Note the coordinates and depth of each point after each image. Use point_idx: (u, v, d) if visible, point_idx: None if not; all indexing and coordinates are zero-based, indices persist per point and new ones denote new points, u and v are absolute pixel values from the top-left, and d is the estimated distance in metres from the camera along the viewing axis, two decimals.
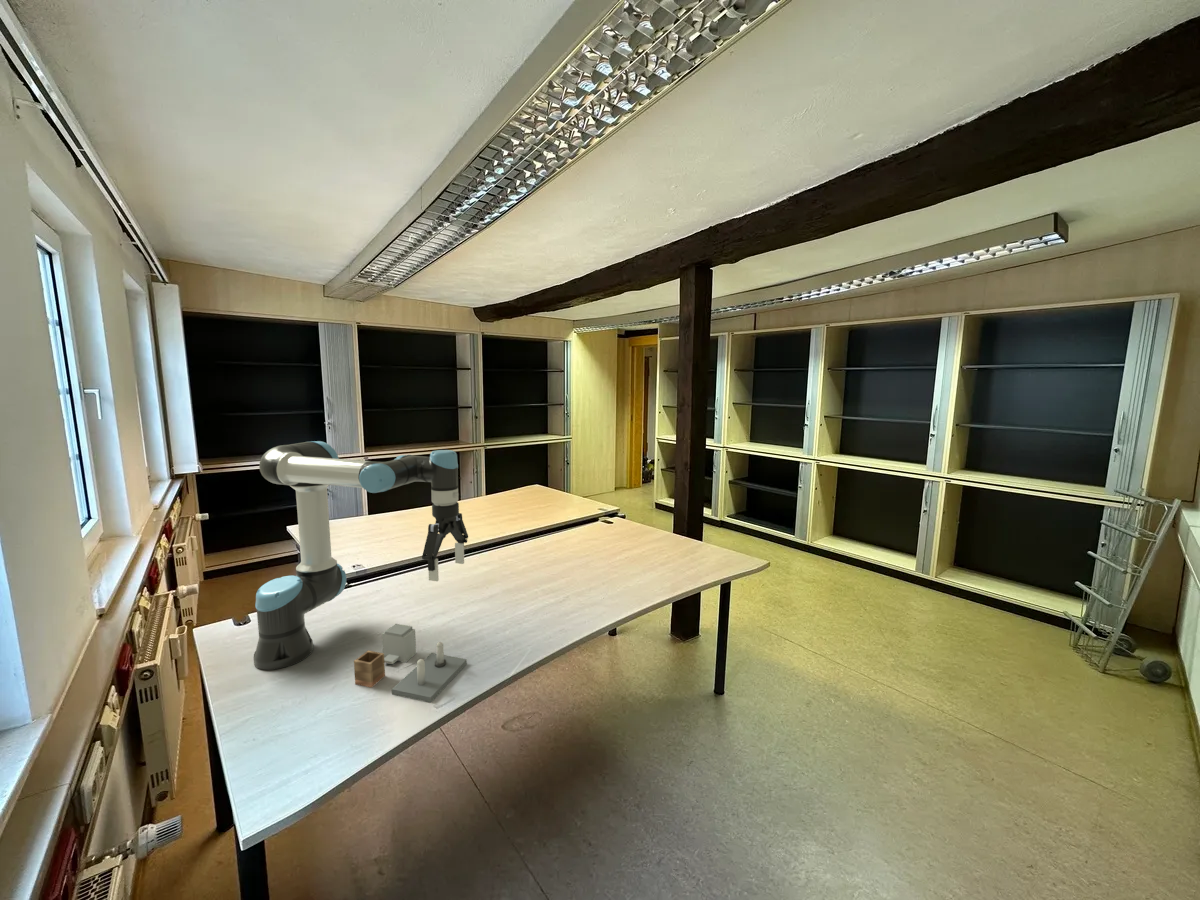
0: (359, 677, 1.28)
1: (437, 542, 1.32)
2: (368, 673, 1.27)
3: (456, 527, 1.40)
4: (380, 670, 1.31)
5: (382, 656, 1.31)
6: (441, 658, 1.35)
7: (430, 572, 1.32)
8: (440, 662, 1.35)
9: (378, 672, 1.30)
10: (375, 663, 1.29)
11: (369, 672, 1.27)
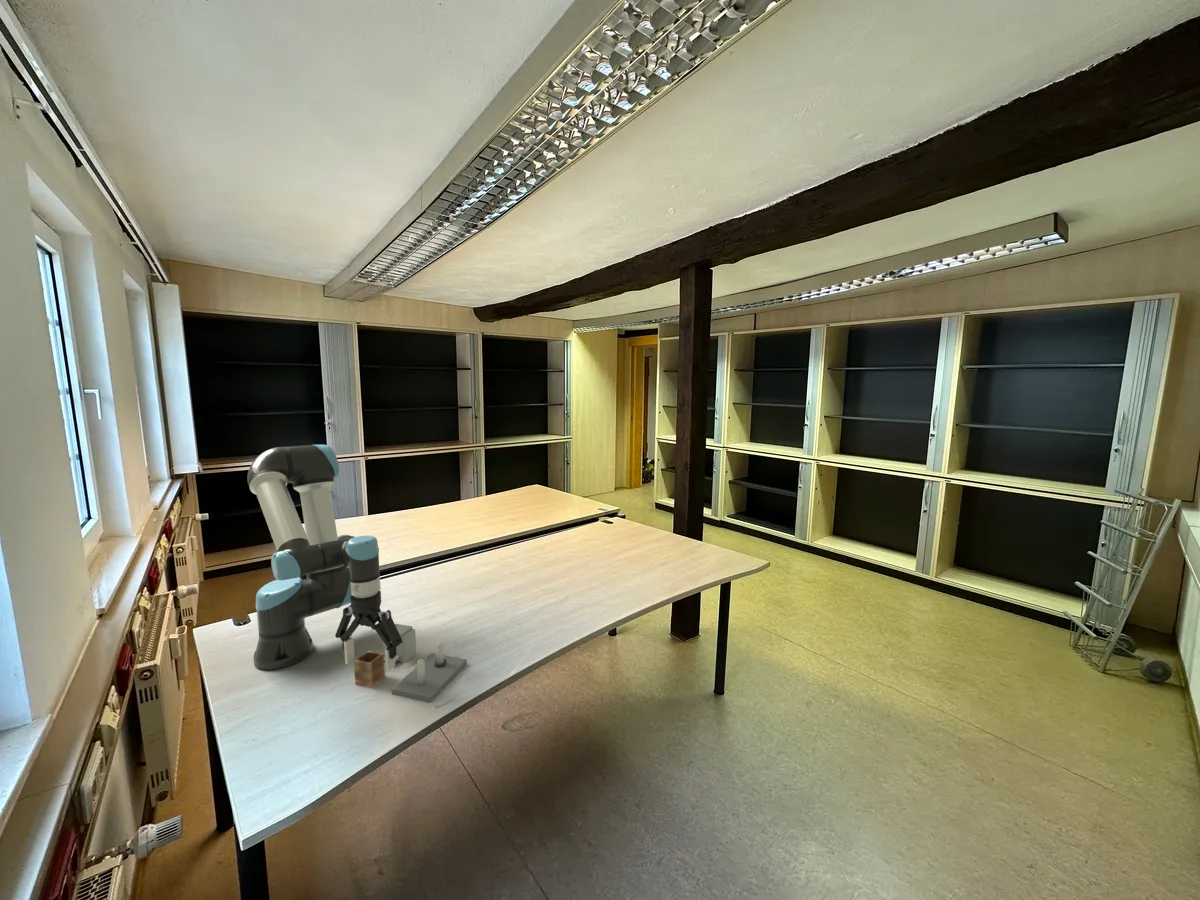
0: (359, 677, 1.28)
1: None
2: (368, 673, 1.27)
3: (371, 625, 1.26)
4: (380, 670, 1.31)
5: (382, 656, 1.31)
6: (441, 658, 1.35)
7: None
8: (440, 662, 1.35)
9: (378, 672, 1.30)
10: (375, 663, 1.29)
11: (369, 672, 1.27)
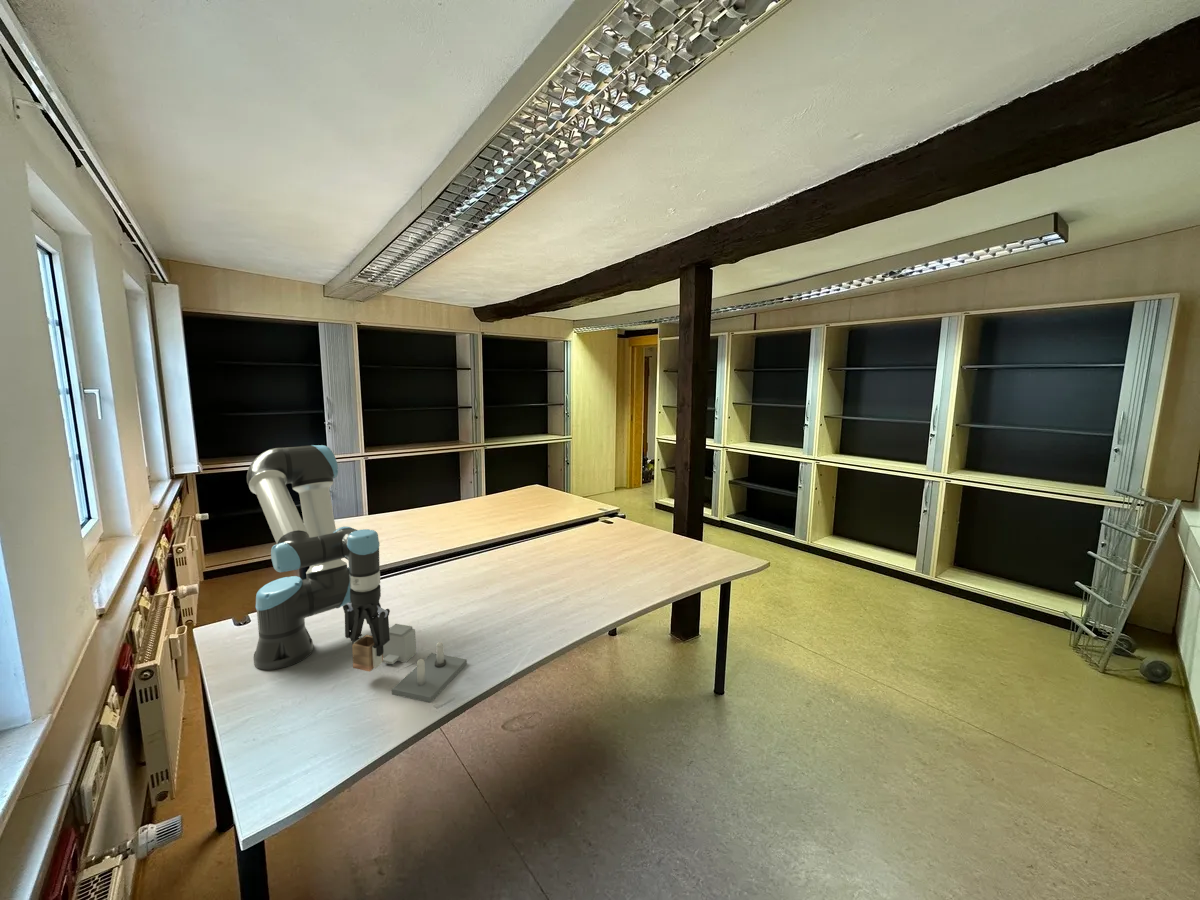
0: (357, 661, 1.28)
1: None
2: (366, 657, 1.27)
3: (367, 619, 1.26)
4: None
5: None
6: (441, 658, 1.35)
7: None
8: (440, 662, 1.35)
9: None
10: None
11: (367, 656, 1.27)
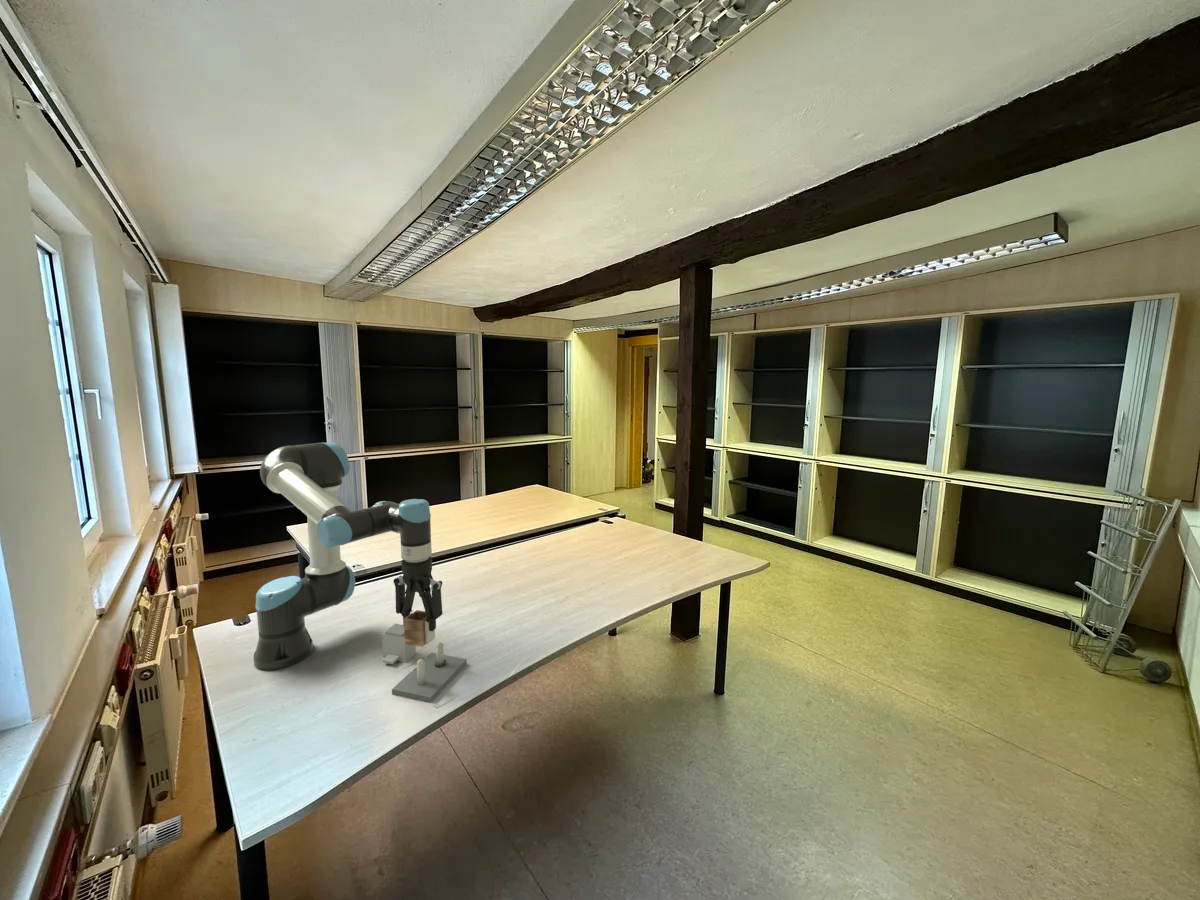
0: (409, 636, 1.23)
1: None
2: (419, 632, 1.22)
3: (420, 592, 1.22)
4: None
5: None
6: (441, 658, 1.35)
7: None
8: (440, 662, 1.35)
9: None
10: None
11: (420, 630, 1.22)
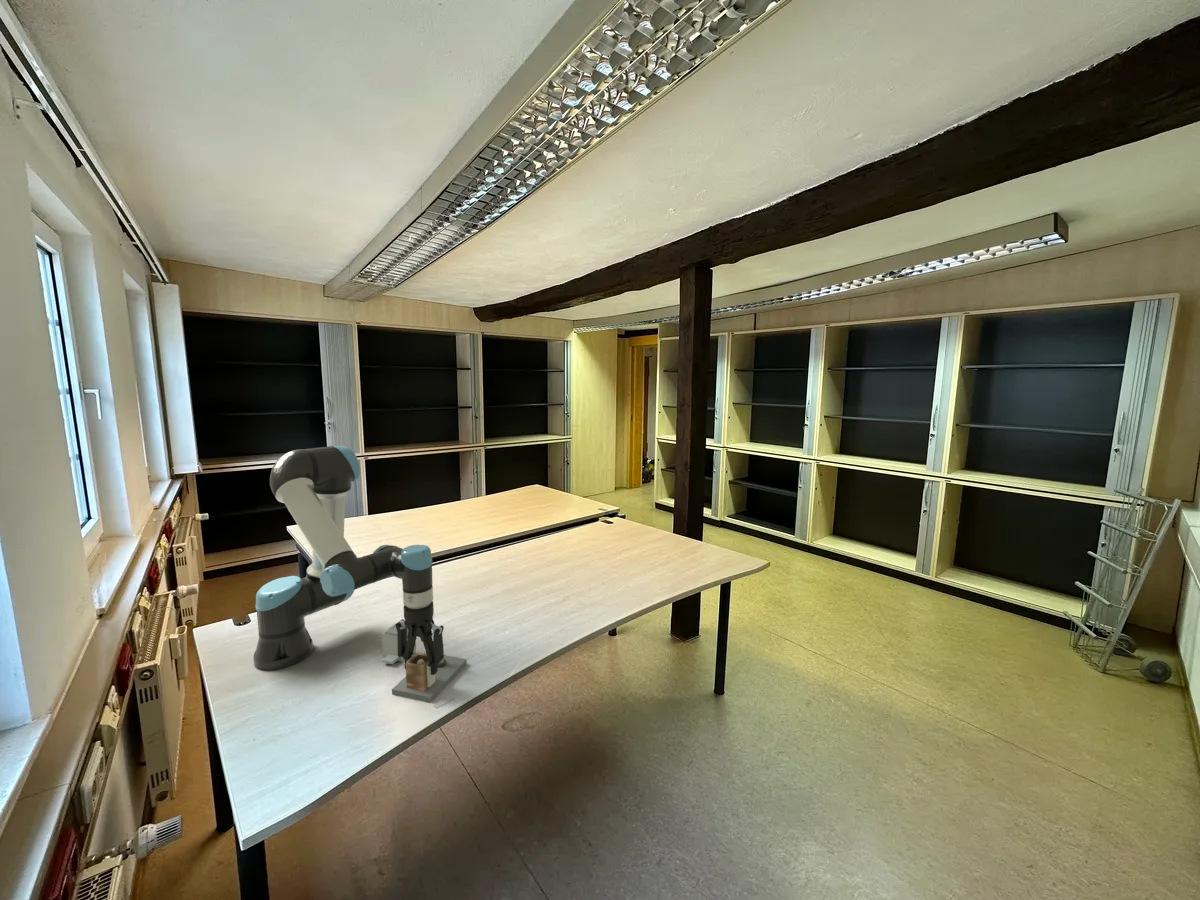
0: (411, 680, 1.25)
1: None
2: (421, 676, 1.24)
3: (422, 637, 1.24)
4: None
5: None
6: None
7: None
8: (440, 662, 1.35)
9: None
10: None
11: (422, 675, 1.24)
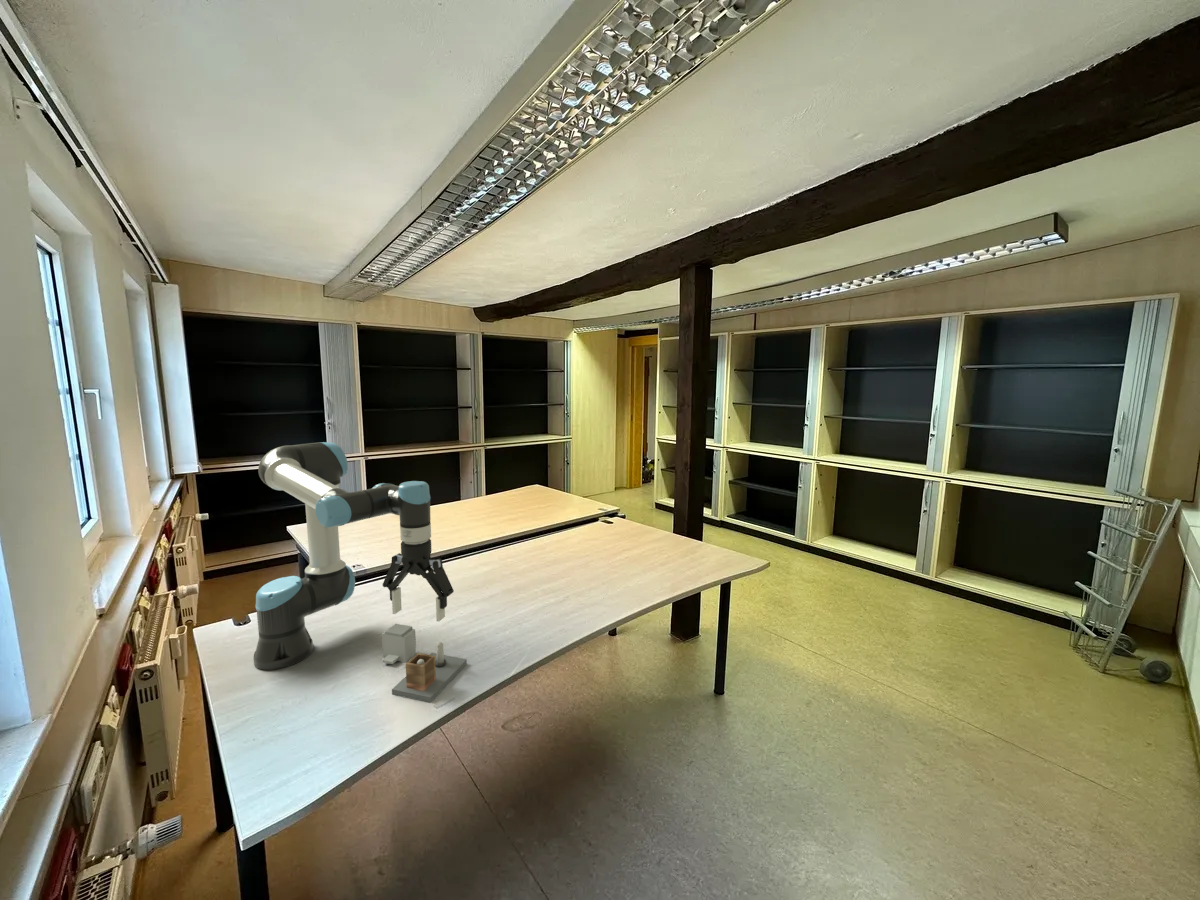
0: (411, 680, 1.25)
1: None
2: (421, 676, 1.24)
3: (422, 573, 1.21)
4: (431, 673, 1.28)
5: (433, 659, 1.28)
6: (441, 658, 1.35)
7: None
8: (440, 662, 1.35)
9: (430, 675, 1.27)
10: (427, 665, 1.26)
11: (422, 675, 1.24)
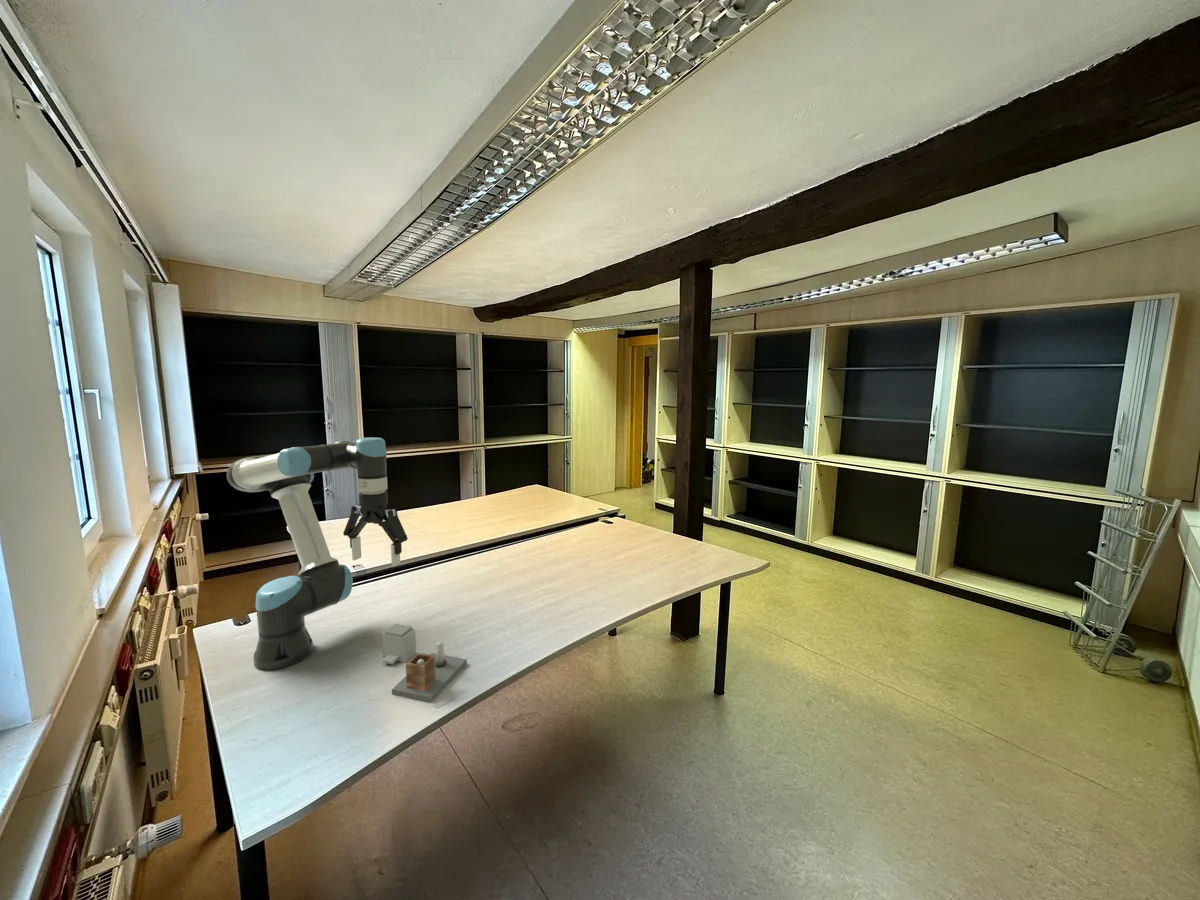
0: (411, 680, 1.25)
1: None
2: (421, 676, 1.24)
3: (378, 521, 1.32)
4: (431, 673, 1.28)
5: (433, 659, 1.28)
6: (441, 658, 1.35)
7: None
8: (440, 662, 1.35)
9: (430, 675, 1.27)
10: (427, 665, 1.26)
11: (422, 675, 1.24)
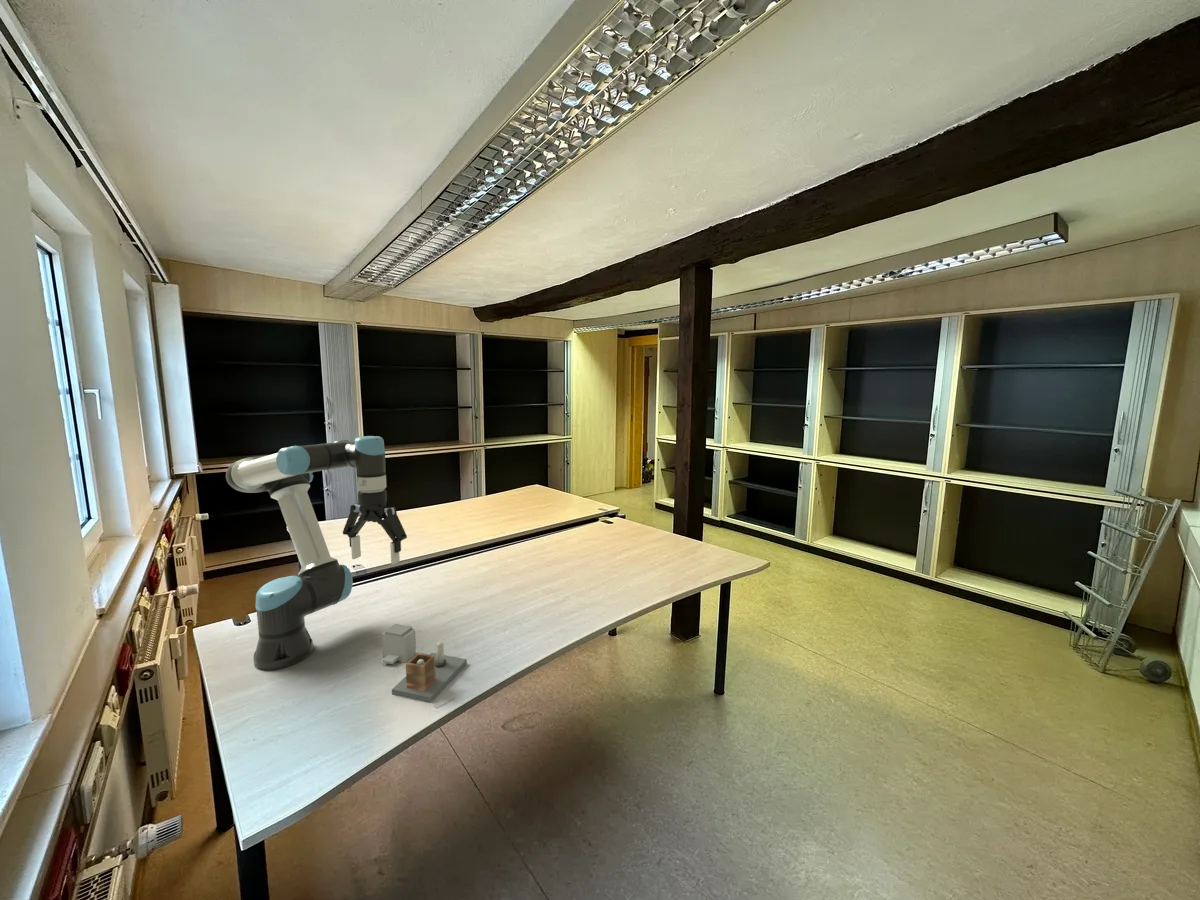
0: (411, 680, 1.25)
1: None
2: (421, 676, 1.24)
3: (377, 519, 1.32)
4: (431, 673, 1.28)
5: (433, 659, 1.28)
6: (441, 658, 1.35)
7: None
8: (440, 662, 1.35)
9: (430, 675, 1.27)
10: (427, 665, 1.26)
11: (422, 675, 1.24)
